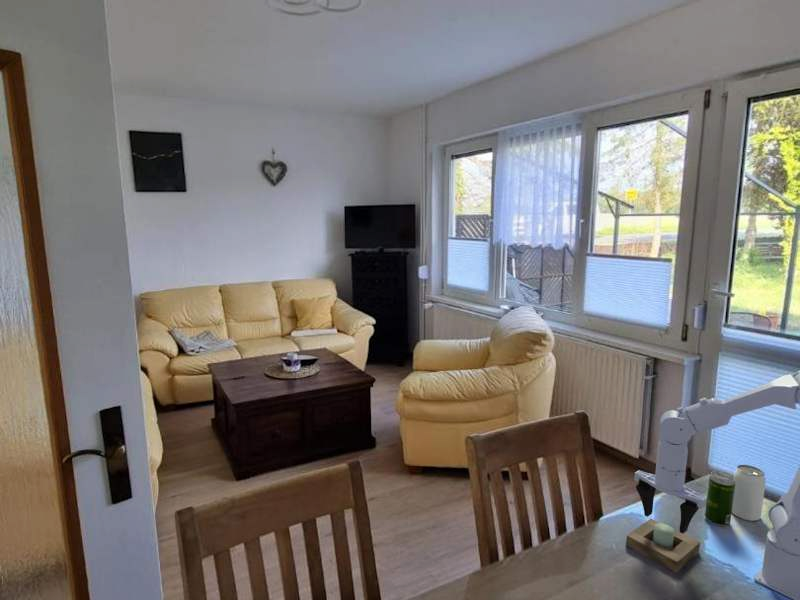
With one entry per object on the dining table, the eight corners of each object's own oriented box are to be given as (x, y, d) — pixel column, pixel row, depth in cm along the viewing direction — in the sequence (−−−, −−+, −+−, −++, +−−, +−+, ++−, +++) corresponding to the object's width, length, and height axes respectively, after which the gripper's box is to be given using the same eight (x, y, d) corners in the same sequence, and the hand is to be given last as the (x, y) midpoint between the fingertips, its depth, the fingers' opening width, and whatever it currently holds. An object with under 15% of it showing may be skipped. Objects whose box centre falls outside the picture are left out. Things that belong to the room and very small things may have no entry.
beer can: (733, 522, 122) (739, 476, 120) (725, 530, 119) (731, 484, 117) (709, 512, 126) (714, 468, 124) (700, 519, 123) (706, 474, 121)
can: (734, 519, 123) (740, 474, 122) (725, 505, 130) (731, 462, 128) (764, 524, 122) (771, 478, 120) (754, 509, 128) (760, 466, 126)
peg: (675, 550, 111) (677, 529, 111) (667, 557, 109) (669, 536, 108) (657, 541, 114) (659, 521, 114) (648, 547, 112) (651, 527, 111)
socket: (698, 552, 111) (700, 542, 110) (676, 572, 104) (677, 561, 104) (649, 527, 119) (650, 518, 119) (625, 545, 113) (626, 535, 112)
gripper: (715, 473, 105) (708, 532, 107) (647, 448, 117) (642, 502, 119) (700, 484, 101) (694, 544, 103) (631, 457, 112) (626, 512, 114)
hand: (665, 522), depth 111 cm, fingers open, 7 cm apart
